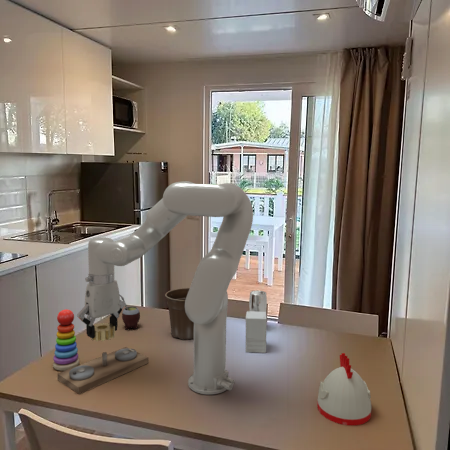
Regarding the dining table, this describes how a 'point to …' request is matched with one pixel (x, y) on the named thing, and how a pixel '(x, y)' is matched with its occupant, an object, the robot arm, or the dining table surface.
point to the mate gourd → (130, 316)
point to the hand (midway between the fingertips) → (102, 332)
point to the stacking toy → (65, 342)
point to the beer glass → (258, 301)
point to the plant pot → (179, 314)
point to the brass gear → (104, 332)
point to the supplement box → (256, 331)
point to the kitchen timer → (344, 396)
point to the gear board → (102, 369)
